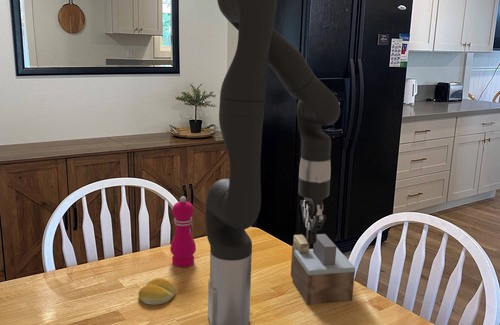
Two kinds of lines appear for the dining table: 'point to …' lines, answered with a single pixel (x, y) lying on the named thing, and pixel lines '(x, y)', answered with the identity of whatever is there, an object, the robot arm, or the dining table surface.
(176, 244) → the pepper mill
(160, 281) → the bread roll
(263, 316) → the dining table surface
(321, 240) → the lid
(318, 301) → the toolbox
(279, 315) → the dining table surface
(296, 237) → the wooden key
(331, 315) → the dining table surface
